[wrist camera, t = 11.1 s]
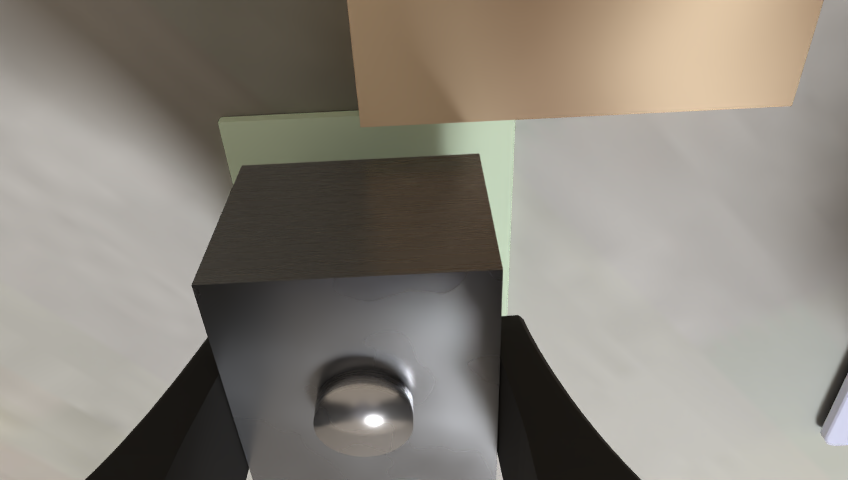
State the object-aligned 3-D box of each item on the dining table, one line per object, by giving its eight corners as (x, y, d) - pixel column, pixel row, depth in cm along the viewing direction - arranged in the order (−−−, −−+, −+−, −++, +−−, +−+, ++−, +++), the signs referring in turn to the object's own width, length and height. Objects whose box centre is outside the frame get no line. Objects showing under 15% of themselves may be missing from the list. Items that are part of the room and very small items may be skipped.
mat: (513, 102, 16) (515, 107, 15) (505, 321, 20) (506, 328, 19) (220, 117, 16) (217, 122, 15) (272, 332, 20) (270, 339, 19)
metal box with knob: (479, 153, 14) (507, 289, 10) (478, 357, 17) (498, 514, 14) (241, 165, 14) (183, 305, 10) (287, 367, 17) (256, 526, 14)
